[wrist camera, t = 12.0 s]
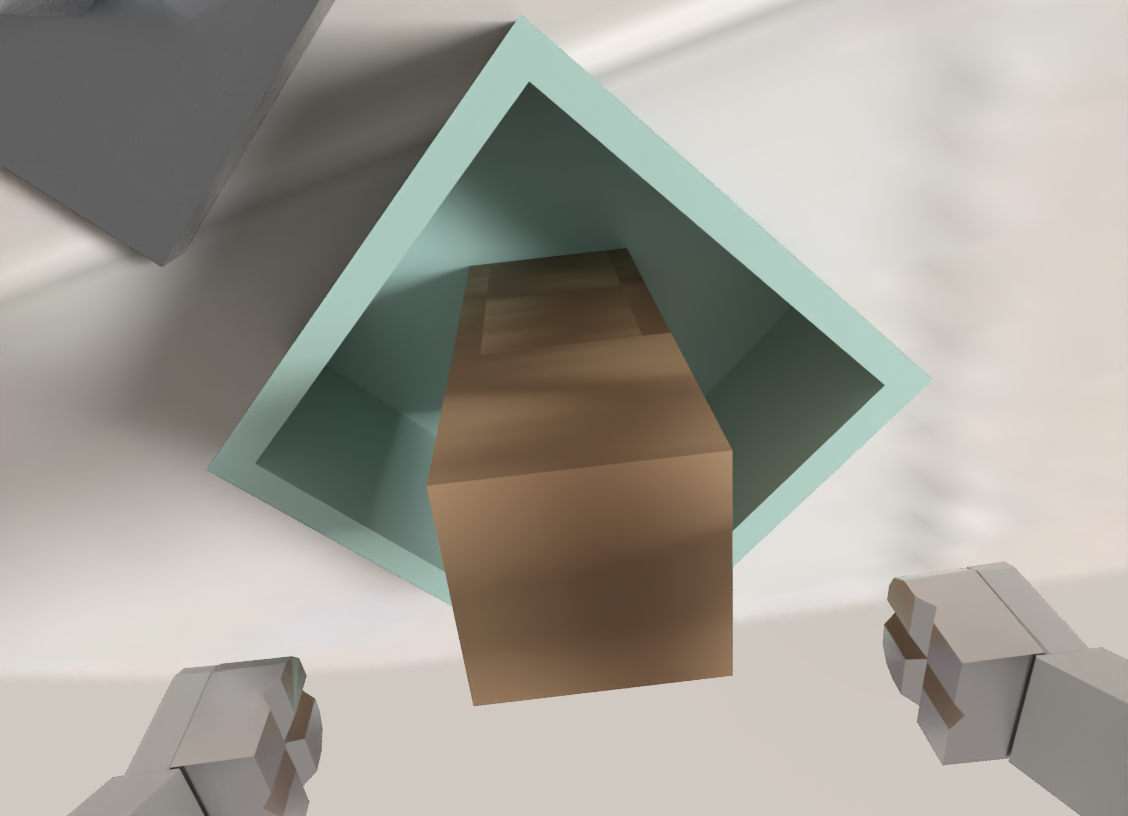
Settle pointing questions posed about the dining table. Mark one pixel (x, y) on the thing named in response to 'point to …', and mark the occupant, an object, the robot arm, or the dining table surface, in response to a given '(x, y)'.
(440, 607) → the dining table surface
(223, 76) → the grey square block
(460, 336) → the walnut strut
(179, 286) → the dining table surface
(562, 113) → the sage bin
